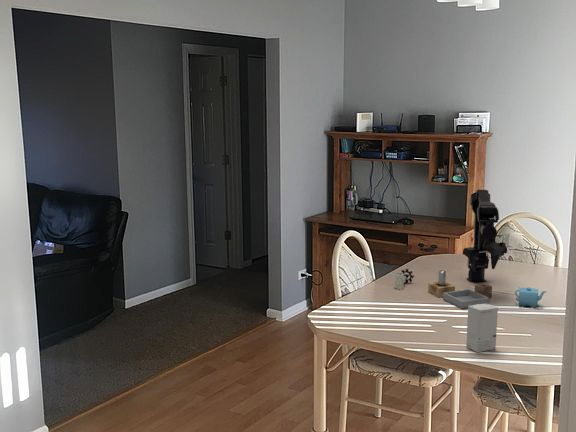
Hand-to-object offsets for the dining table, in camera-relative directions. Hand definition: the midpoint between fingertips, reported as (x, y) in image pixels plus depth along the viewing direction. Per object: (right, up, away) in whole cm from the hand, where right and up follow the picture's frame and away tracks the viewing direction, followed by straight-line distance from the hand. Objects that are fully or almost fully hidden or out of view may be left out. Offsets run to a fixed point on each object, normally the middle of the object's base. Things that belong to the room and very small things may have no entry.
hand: (484, 270), depth 268 cm
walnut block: (0, -11, +2) cm, 12 cm away
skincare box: (-17, -22, -52) cm, 59 cm away
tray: (-9, -13, -5) cm, 17 cm away
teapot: (+16, -14, -10) cm, 23 cm away
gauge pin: (-17, -11, +6) cm, 21 cm away
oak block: (-17, -11, +6) cm, 21 cm away
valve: (-31, -9, +18) cm, 37 cm away
